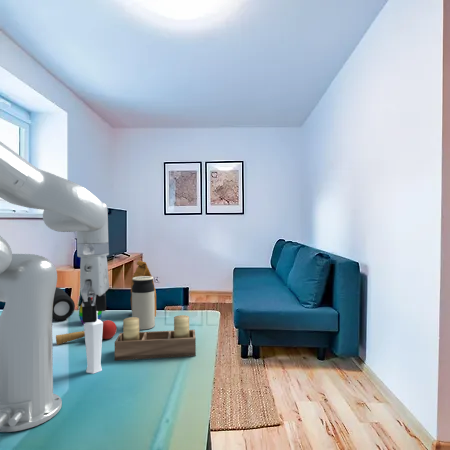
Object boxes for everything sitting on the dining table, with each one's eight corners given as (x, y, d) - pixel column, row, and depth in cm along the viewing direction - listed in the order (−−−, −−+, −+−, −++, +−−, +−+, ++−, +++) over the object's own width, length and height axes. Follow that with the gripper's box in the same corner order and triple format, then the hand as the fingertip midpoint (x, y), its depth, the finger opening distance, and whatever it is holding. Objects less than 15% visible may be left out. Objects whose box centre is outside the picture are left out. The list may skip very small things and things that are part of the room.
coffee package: (133, 320, 133) (132, 263, 133) (129, 312, 144) (128, 260, 144) (158, 317, 137) (158, 262, 137) (153, 310, 148) (152, 259, 148)
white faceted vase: (83, 375, 84) (82, 315, 84) (85, 368, 89) (85, 310, 89) (103, 373, 86) (102, 313, 86) (104, 366, 90) (103, 309, 90)
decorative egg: (74, 324, 128) (73, 298, 128) (89, 318, 136) (89, 293, 136) (92, 326, 125) (91, 299, 125) (106, 320, 133) (106, 294, 133)
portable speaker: (76, 320, 134) (75, 294, 134) (48, 324, 129) (47, 298, 129) (65, 307, 156) (65, 285, 156) (41, 310, 150) (41, 287, 150)
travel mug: (156, 328, 122) (155, 278, 122) (133, 331, 119) (133, 280, 119) (152, 322, 129) (152, 275, 129) (131, 325, 126) (130, 276, 126)
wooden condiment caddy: (195, 355, 96) (195, 320, 96) (114, 360, 94) (114, 324, 94) (195, 345, 104) (194, 313, 104) (120, 349, 102) (120, 316, 101)
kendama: (56, 353, 103) (118, 337, 109) (53, 332, 103) (114, 318, 110) (59, 349, 110) (117, 335, 116) (57, 330, 111) (114, 316, 117)
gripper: (99, 253, 79) (101, 326, 80) (115, 246, 96) (116, 306, 97) (66, 254, 78) (68, 327, 79) (87, 247, 95) (89, 308, 96)
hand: (95, 316), depth 88 cm, fingers open, 9 cm apart
